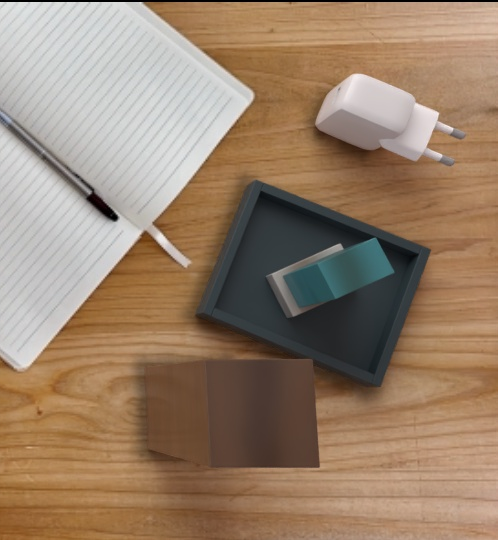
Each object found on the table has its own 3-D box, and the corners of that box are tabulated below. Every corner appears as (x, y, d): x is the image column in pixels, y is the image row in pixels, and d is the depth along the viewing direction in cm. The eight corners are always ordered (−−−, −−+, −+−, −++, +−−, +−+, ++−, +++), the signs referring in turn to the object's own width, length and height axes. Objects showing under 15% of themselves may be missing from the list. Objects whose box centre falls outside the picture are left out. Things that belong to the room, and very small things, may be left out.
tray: (417, 253, 75) (431, 249, 72) (367, 387, 73) (380, 387, 71) (246, 185, 76) (255, 178, 74) (194, 315, 75) (202, 312, 72)
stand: (226, 366, 74) (313, 358, 56) (230, 449, 73) (320, 468, 55) (144, 366, 74) (205, 359, 57) (147, 449, 73) (210, 467, 56)
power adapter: (446, 136, 76) (487, 115, 70) (426, 185, 75) (466, 168, 70) (327, 86, 77) (357, 61, 71) (306, 134, 77) (335, 113, 71)
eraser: (333, 245, 74) (381, 227, 66) (355, 287, 74) (407, 274, 65) (265, 276, 74) (305, 261, 66) (286, 318, 74) (329, 309, 65)
